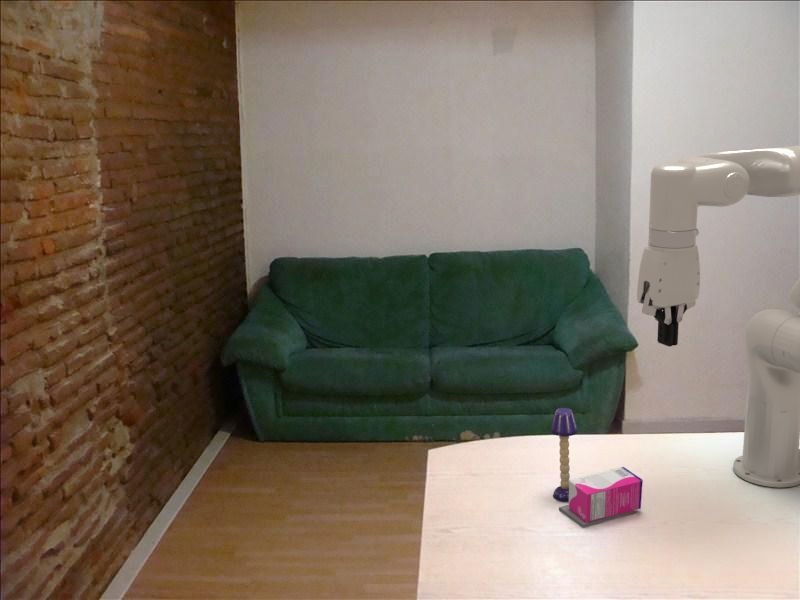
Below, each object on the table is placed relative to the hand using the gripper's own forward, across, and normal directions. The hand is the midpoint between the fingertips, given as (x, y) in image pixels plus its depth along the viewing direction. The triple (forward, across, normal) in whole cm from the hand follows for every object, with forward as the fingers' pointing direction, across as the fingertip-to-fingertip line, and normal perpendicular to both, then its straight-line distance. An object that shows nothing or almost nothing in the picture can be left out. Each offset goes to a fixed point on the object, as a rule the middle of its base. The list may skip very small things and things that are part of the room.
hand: (667, 343), depth 149 cm
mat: (+29, +13, -2) cm, 32 cm away
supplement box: (+26, +6, 0) cm, 26 cm away
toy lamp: (+29, +15, -9) cm, 34 cm away
